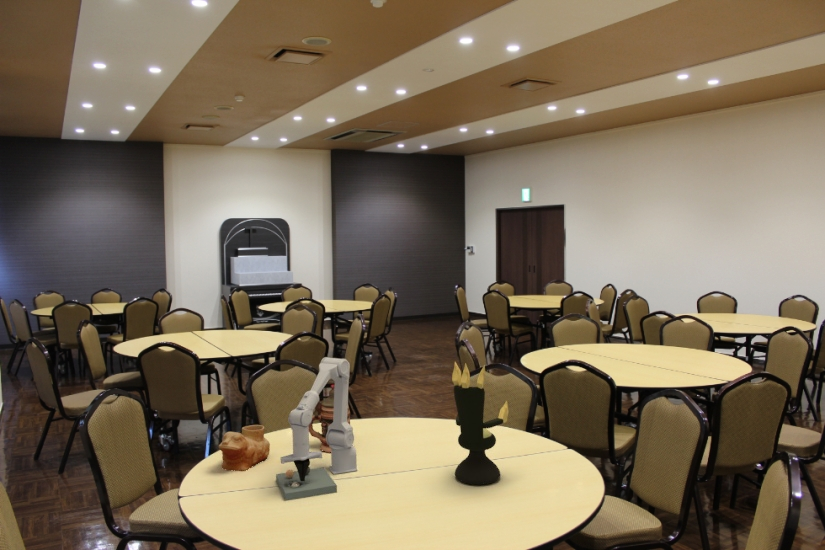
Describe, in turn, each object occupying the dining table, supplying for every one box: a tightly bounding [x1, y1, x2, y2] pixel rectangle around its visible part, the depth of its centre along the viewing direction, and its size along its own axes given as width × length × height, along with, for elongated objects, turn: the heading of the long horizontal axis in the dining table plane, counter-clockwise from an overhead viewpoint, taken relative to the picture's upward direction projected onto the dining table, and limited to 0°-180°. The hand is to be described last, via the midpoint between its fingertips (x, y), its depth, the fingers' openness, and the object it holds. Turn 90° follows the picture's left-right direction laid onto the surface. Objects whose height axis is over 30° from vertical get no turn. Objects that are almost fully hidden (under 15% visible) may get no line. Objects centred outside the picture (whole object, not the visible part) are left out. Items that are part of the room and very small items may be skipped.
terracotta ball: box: [285, 469, 294, 478], centre depth 238 cm, size 3×3×3 cm
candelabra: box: [451, 361, 509, 486], centre depth 237 cm, size 19×22×45 cm
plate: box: [275, 466, 338, 501], centre depth 236 cm, size 18×20×2 cm
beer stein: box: [309, 384, 351, 454], centre depth 279 cm, size 17×28×18 cm
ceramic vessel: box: [218, 424, 271, 472], centre depth 262 cm, size 14×26×15 cm, turn 158°
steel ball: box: [291, 482, 300, 487], centre depth 232 cm, size 3×3×3 cm
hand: (302, 480), depth 233 cm, fingers closed
